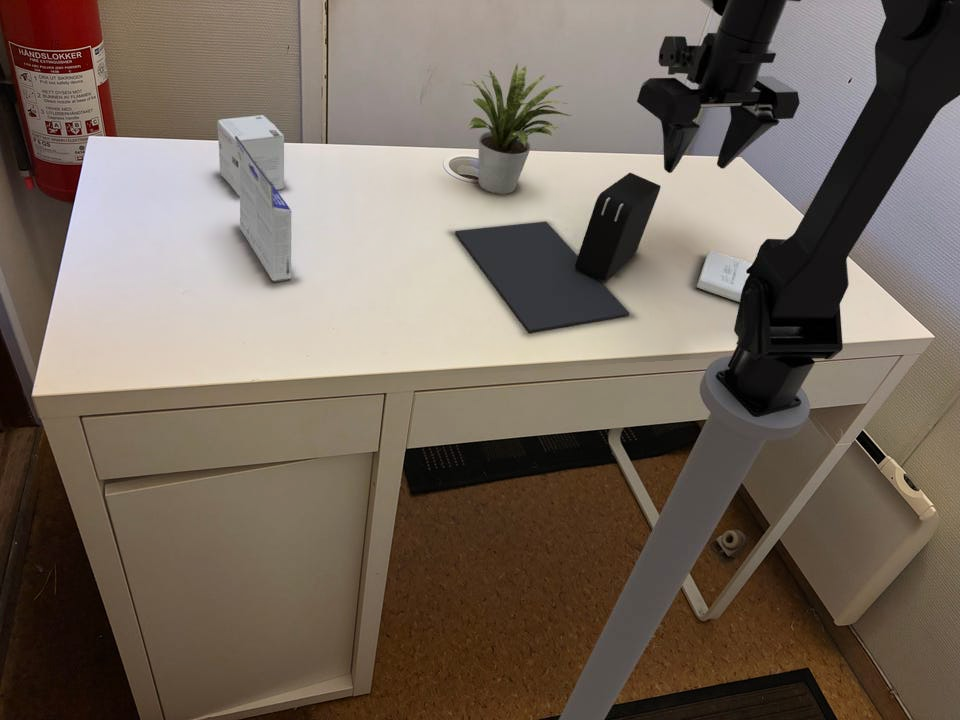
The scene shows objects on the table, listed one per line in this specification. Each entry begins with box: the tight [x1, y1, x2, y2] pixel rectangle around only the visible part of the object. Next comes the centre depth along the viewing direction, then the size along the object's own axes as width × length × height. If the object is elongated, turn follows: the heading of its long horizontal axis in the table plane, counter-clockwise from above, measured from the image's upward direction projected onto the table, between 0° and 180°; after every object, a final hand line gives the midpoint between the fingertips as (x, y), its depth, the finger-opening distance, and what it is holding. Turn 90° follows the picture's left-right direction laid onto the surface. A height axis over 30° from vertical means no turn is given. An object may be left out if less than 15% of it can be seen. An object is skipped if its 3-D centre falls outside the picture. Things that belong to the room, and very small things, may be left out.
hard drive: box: [696, 249, 753, 303], centre depth 93 cm, size 2×8×12 cm
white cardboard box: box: [216, 114, 285, 197], centre depth 92 cm, size 6×6×7 cm
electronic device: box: [575, 172, 662, 283], centre depth 90 cm, size 4×10×10 cm, turn 147°
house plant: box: [461, 63, 572, 195], centre depth 98 cm, size 14×14×16 cm
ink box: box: [235, 136, 292, 282], centre depth 80 cm, size 12×2×12 cm, turn 31°
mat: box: [454, 221, 631, 334], centre depth 89 cm, size 20×13×1 cm, turn 25°
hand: (694, 169), depth 89 cm, fingers open, 8 cm apart
